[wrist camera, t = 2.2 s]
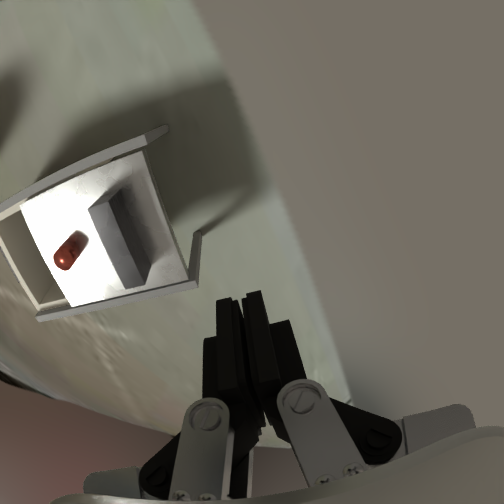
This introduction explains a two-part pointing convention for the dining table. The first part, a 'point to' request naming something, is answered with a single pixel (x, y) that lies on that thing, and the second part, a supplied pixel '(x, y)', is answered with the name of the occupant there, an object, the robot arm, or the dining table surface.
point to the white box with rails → (33, 263)
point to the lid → (106, 232)
